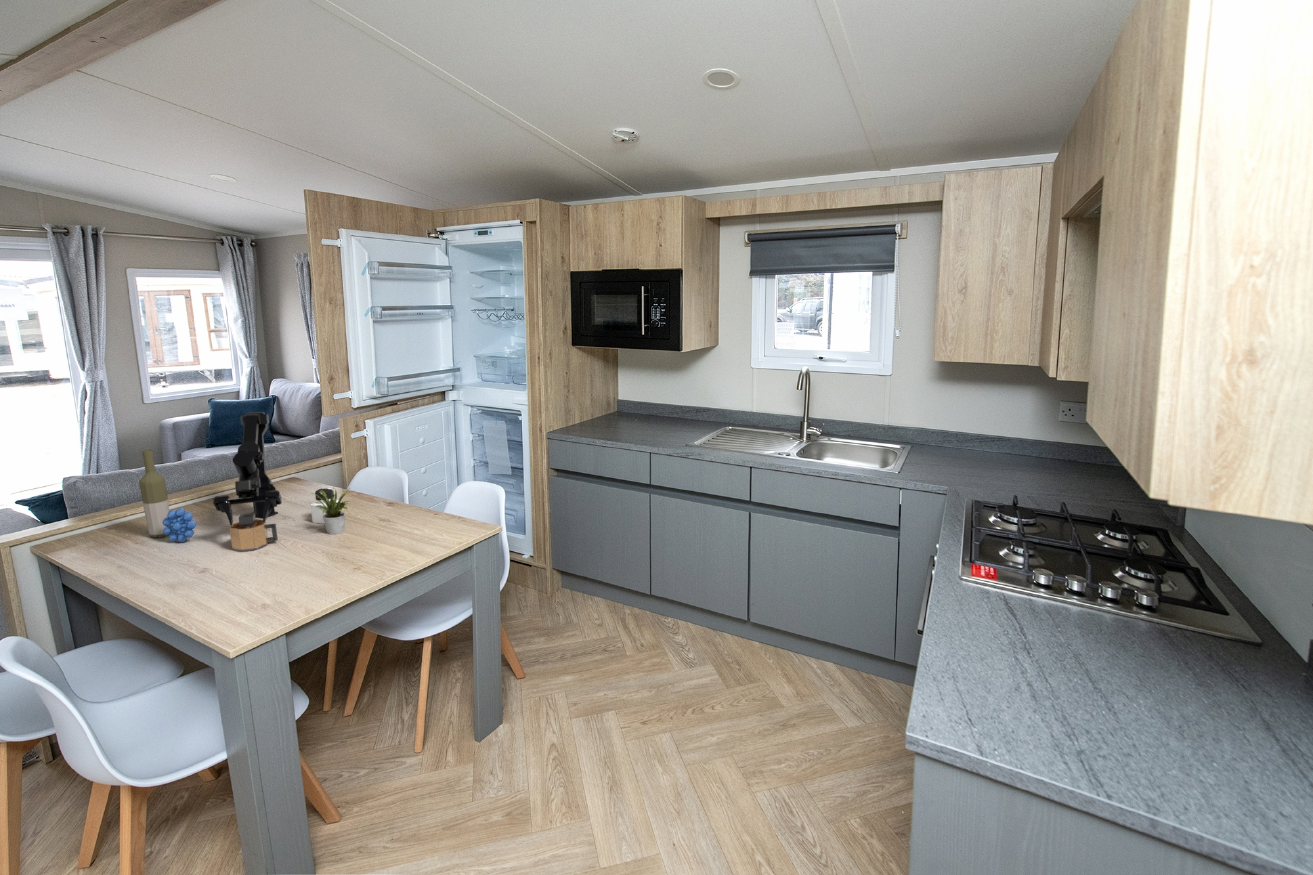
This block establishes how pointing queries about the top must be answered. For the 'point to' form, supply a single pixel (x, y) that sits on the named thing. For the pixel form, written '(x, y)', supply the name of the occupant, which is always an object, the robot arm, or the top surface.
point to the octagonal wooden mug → (251, 536)
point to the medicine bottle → (318, 513)
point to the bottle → (153, 496)
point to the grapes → (179, 525)
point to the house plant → (333, 513)
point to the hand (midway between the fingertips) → (247, 523)
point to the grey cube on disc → (247, 519)
